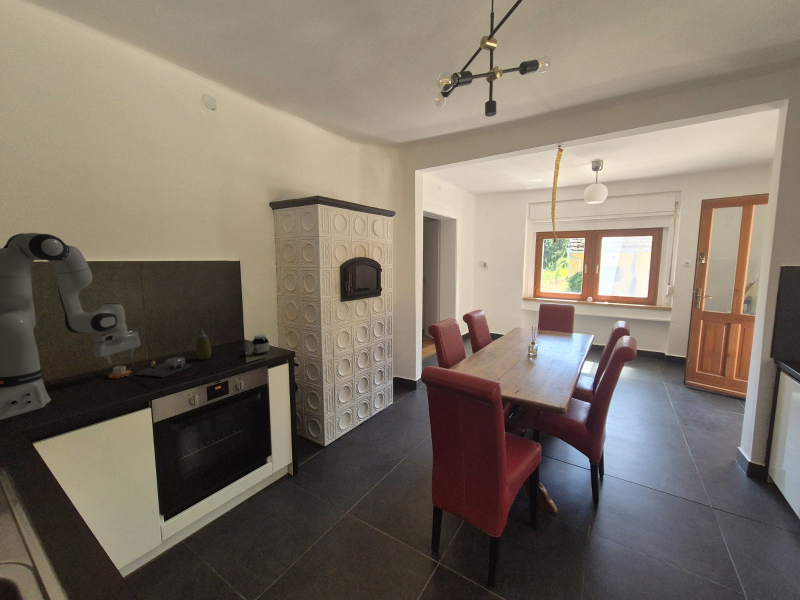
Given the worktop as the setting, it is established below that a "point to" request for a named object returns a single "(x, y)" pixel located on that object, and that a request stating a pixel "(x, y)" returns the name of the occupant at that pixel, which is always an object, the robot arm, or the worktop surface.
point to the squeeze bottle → (203, 346)
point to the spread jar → (258, 345)
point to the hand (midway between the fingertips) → (120, 360)
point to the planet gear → (119, 372)
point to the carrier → (165, 367)
